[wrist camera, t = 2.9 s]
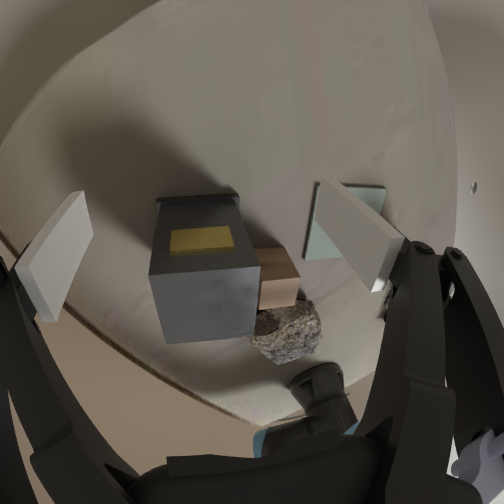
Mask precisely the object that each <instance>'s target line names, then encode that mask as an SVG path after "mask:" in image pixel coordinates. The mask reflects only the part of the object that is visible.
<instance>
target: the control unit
mask: <svg viewBox="0 0 504 504" xmlns="http://www.w3.org/2000/svg"><path fill="white" fill-rule="evenodd" d="M156 211H157V225H156V230H155V236H154V242H153V248H152V254H151V261H150V268H149V275H148V276H149V280H150V284H151V288H152V293H153V297H154V301H155V305H156V308H157V312H158V316H159V320H160V323H161V327H162V330H163V334H164V337H165V340H166V344H174V343H188V342H199V341H210V340H220V339H229V338H237V337H245V336H253V335H254V331H255V320H256V310H257V300H258V289H259V278H260V267H261V266H260V263H259V261H258V258H257V256H256V253H255V251H254V248H253V245H252V243H251V240H250V238H249V235H248V233H247V230H246V227H245V225H244V222H243V220H242V217H241V215H240V212H239V195H238V194H216V195H198V196H184V197H170V198H159V199H156Z"/></svg>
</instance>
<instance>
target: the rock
mask: <svg viewBox="0 0 504 504" xmlns="http://www.w3.org/2000/svg"><path fill="white" fill-rule="evenodd" d="M249 338H250V342H251V344H252V346H253V347H254V348H256V349H259V350H260V351H261V352H262V353H263V355H265V356H266V357H267V358H268V359H270V360H271V361H273V362H274V363H275V364H276V365H279V364H283V363H287V362H290V361H292V360H295V359H298V358H302V357H305V356H307V355H309V354H312V353H314V352H315V350H316V348H317V346H318V344H319V342H320V340H321V339H322V334H321V323H320V318H319V316H318V314H317V312H316V311H315V307H314V304H313V303H312V301H311V300H309V301H299V300H296V301H295V305H293V306H286V307H279V308H271V309H265V310H264V311H263V312H262V313H260V314H257V315H256V320H255V331H254V335H253V336H249Z"/></svg>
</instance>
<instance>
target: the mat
mask: <svg viewBox="0 0 504 504" xmlns="http://www.w3.org/2000/svg"><path fill="white" fill-rule="evenodd" d="M345 187H346V188H347V189H349V190H350V191H351V192H352V193H354V194H355V195H356V196H357V197H359V198H360V199H361V200H362V201H364V202H365V203H366V204H367V205H368V206H370V207H371V208H372V209H373V210H374V211H376V212H377V213H378V214H379V215H380V214H381V210H382V206H383V203H384V199H385V195H386V191H387V189H385V188H374V187H355V186H345ZM319 188H320V185H317V187H316V193H315V200H314V206H313V211H312V217H311V223H310V228H309V234H308V239H307V244H306V250H305V255H304V260H305V261H309V260H319V259H329V258H339V257H344V256H343V255H342V253H341V252H340V251H339V250H338V248H337V247H336V246H335V244H334V243H333V242H332V241H331V239H330V238H329V237H328V236H327V235H326V233H325V232H324V231H323V230H322V228H321V227H320V226H319V225H318V224H317V222H316V221H315V220H314V217H315V211H316V205H317V200H318V194H319Z"/></svg>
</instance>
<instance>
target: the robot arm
mask: <svg viewBox="0 0 504 504" xmlns="http://www.w3.org/2000/svg"><path fill="white" fill-rule="evenodd" d="M314 220H315V221H316V222H317V224H318V225H319V226H320V227H321V228H322V230H323V231H324V232H325V233H326V235H327V236H328V237H329V238H330V239H331V241H332V242H333V243H334V244H335V246H336V247H337V248H338V250H339V251H340V252H341V253H342V255H343V256H344V257H345V258H346V260H347V261H348V262H349V264H350V265H351V266H352V268H353V269H354V270H355V271H356V273H357V274H358V275H359V277H360V278H361V279H362V281H363V282H364V283H365V285H366V286H367V288H368V289H369V290H370V292H375V291H380V290H384V288H385V286H386V284H387V282H388V279H389V280H390V281H391V282H392V283H393V286H392V288H391V290H390V292H389V294H388V296H387V299H386V301H385V304H387V302H388V301H389V303H388V310H387V316H386V322H385V328H384V334H383V339H382V344H381V349H380V354H379V358H378V363H377V367H376V371H375V375H374V380H373V383H372V387H371V391H370V394H369V398H368V401H367V405H366V408H365V412H364V414H363V417H362V419H361V421H360V423H359V422H358V420H357V418H356V416H355V414H354V411H353V409H352V407H351V405H350V402H349V401H348V398H347V396H346V394H345V389H344V378H343V372H342V370H341V367H340V366H339V365H338V364H334V363H330V364H323V365H319V366H316V367H314V368H311V369H309V370H307V371H305V372H303V373H301V374H300V375H298V376H297V377H296V378H294V379H293V380H292V382H291V383H290V385H289V388H290V391H291V394H292V395H293V397H294V398H295V399H296V400H297V401H298V403H299V404H300V405H301V406H302V407H303V409H304V411H305V413H306V416H307V417H304V418H301V419H298V420H295V421H292V422H288V423H285V424H281V425H277V426H274V427H268V428H267V429H264V430H260V431H258V432H257V433H255V435H254V437H253V452H254V455H255V458H241V457H229V456H220V455H212V454H207V455H195V456H171V457H166V458H167V464H165V465H161V466H159V467H156V468H154V469H151V470H150V471H148V472H146V473H144V474H143V475H141V476H140V475H139V474H138V473H137V472H136V471H135V470H134V469H133V468H132V467H131V466H129V465H128V464H127V463H126V462H125V461H124V460H123V459H122V458H121V457H120V456H119V455H118V454H116V452H115V451H114V450H113V449H112V447H111V446H110V445H109V444H108V443H107V441H106V440H105V439H104V437H102V435H101V434H100V432H99V431H98V430H97V428H96V427H95V426H94V424H93V423H92V421H91V420H90V419H89V417H88V416H87V414H86V413H85V411H84V410H83V408H82V407H81V406H80V404H79V402H78V401H77V399H76V398H75V396H74V394H73V393H72V391H71V389H70V388H69V386H68V385H67V383H66V381H65V379H64V378H63V376H62V374H61V372H60V370H59V368H58V367H57V365H56V363H55V361H54V359H53V357H52V355H51V353H50V351H49V349H48V347H47V345H46V343H45V340H44V338H43V336H42V334H41V331H40V329H39V327H38V325H37V323H36V321H35V320H34V317H35V315H36V312H37V313H38V315H39V316H40V318H41V319H42V321H43V322H57V320H58V317H59V315H60V311H61V309H62V306H63V304H64V301H65V298H66V296H67V293H68V291H69V288H70V286H71V283H72V281H73V278H74V276H75V274H76V271H77V269H78V267H79V264H80V262H81V260H82V258H83V256H84V254H85V251H86V249H87V247H88V245H89V243H90V241H91V239H92V237H93V235H94V234H93V230H92V226H91V222H90V218H89V214H88V209H87V205H86V200H85V195H84V190H83V191H76V192H72V193H71V194H70V195H69V196H68V197H67V198H66V199H65V200H64V202H63V203H62V204H61V205H60V206H59V207H58V209H57V210H56V211H55V212H54V213H53V215H52V216H51V217H50V218H49V220H48V221H47V222H46V223H45V225H44V226H43V227H42V229H41V230H40V231H39V233H38V234H37V235H36V237H35V238H34V239H33V240H32V241H31V242H30V243H29V244H28V245H27V246H26V247H25V249H24V250H23V251H22V253H21V254H20V256H19V259H17V260H16V262H15V263H14V265H13V267H12V268H11V270H10V271H8V270H7V267H6V265H5V263H4V261H3V258H2V257H1V256H0V504H38V502H37V499H36V497H35V494H34V491H33V489H32V486H31V484H30V481H29V479H28V475H27V473H26V470H25V467H24V464H23V460H22V457H21V453H20V451H19V446H18V442H17V439H16V435H15V430H14V425H13V420H12V415H11V410H10V403H9V397H8V391H9V394H10V396H11V399H12V402H13V405H14V407H15V410H16V412H17V414H18V417H19V419H20V422H21V424H22V426H23V428H24V430H25V433H26V435H27V437H28V439H29V441H30V443H31V445H32V447H33V450H34V453H33V454H32V455H31V456H30V462H31V465H32V467H33V469H34V471H35V473H36V474H37V476H38V478H39V480H40V481H41V483H42V485H43V486H44V488H45V489H46V491H47V492H48V494H49V495H50V497H51V498H52V500H53V501H54V503H55V504H489V503H490V502H491V501H492V500H493V499H494V498H495V497H496V496H497V495H498V494H499V493H500V492H501V491H502V490H503V489H504V328H503V326H502V324H501V321H500V319H499V317H498V315H497V312H496V310H495V308H494V306H493V304H492V302H491V300H490V298H489V296H488V294H487V292H486V290H485V288H484V286H483V285H482V283H481V281H480V279H479V277H478V276H477V274H476V272H475V270H474V269H473V267H472V265H471V264H470V262H469V260H468V259H467V257H466V256H465V255H464V254H463V253H462V252H461V251H460V250H458V249H457V248H453V247H446V249H445V251H444V254H443V256H442V255H436V254H435V252H434V250H433V249H432V248H431V247H430V246H428V245H427V244H425V243H422V242H419V241H412V242H410V241H409V240H408V239H407V238H406V237H405V236H404V235H403V234H402V233H401V232H400V231H398V230H396V228H395V227H394V226H393V225H391V223H389V222H388V221H387V220H386V219H385V218H383V217H381V216H380V215H379V214H378V213H377V212H376V211H374V210H373V209H372V208H371V207H370V206H368V205H367V204H366V203H365V202H364V201H362V200H361V199H360V198H359V197H357V196H356V195H355V194H354V193H352V192H351V191H350V190H349V189H347V188H346V187H345V186H344V185H342V184H341V183H340V182H338V181H337V180H336V179H334V178H333V177H321V181H320V188H319V194H318V200H317V205H316V211H315V217H314ZM454 287H455V291H454V295H453V297H452V299H451V296H450V294H451V292H452V290H453V288H454ZM445 377H446V382H447V387H445ZM7 388H8V389H7ZM453 436H454V441H455V446H456V451H457V454H458V458H459V459H458V460H456V461H455V462H454V463H453V464H452V466H451V473H452V475H453V476H456V477H457V476H459V477H458V478H455V477H453V476H450V475H448V474H446V473H447V467H448V463H449V457H450V452H451V445H452V439H453Z"/></svg>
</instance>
